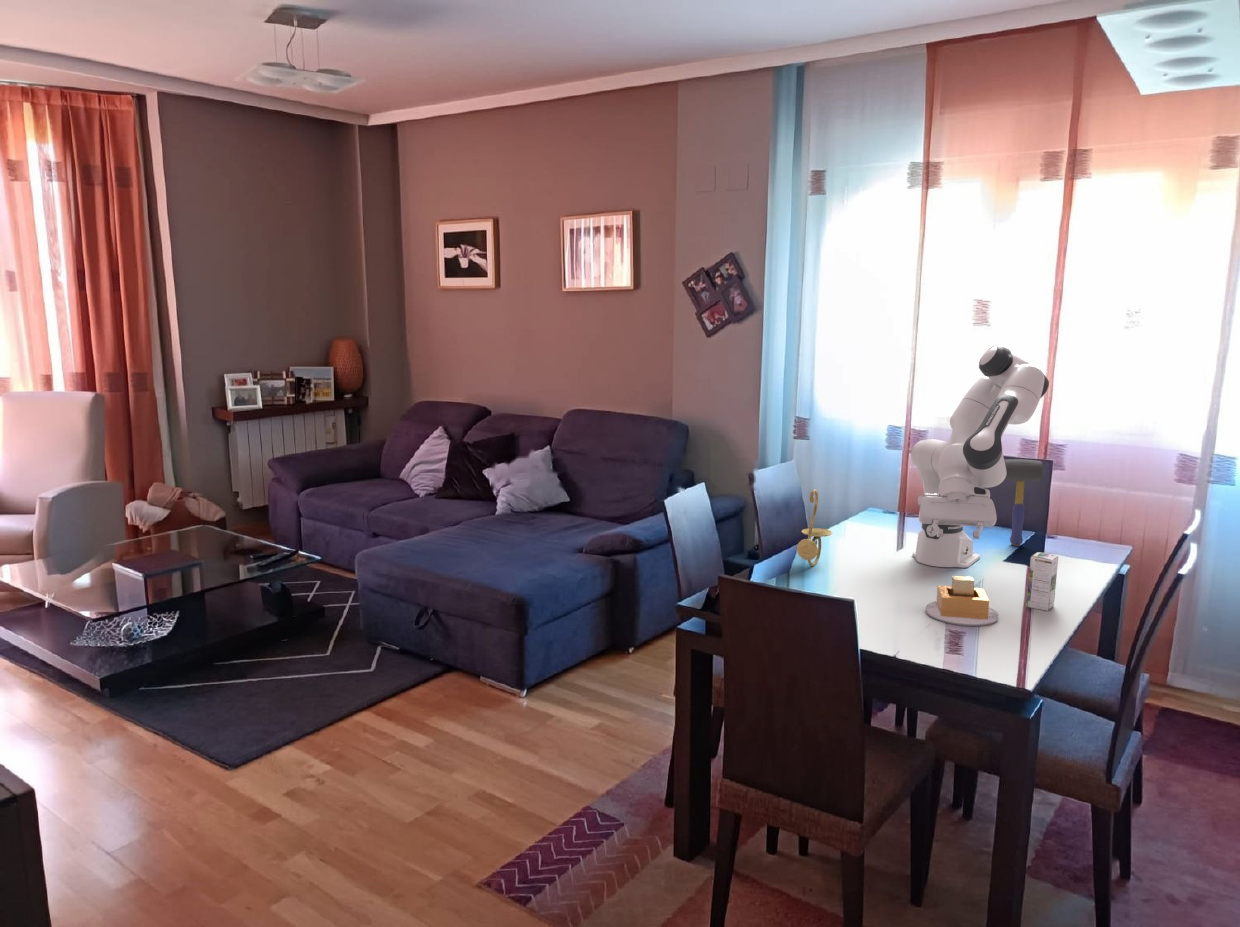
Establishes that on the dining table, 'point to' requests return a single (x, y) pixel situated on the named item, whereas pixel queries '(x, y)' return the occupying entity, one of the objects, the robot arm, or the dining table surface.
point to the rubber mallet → (1021, 490)
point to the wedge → (962, 586)
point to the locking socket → (962, 608)
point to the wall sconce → (809, 547)
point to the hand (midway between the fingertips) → (958, 537)
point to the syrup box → (1042, 581)
